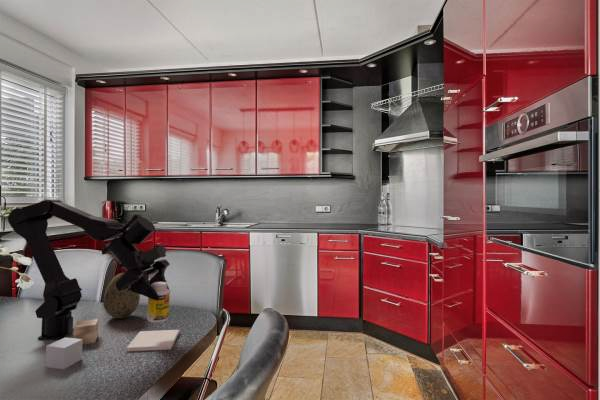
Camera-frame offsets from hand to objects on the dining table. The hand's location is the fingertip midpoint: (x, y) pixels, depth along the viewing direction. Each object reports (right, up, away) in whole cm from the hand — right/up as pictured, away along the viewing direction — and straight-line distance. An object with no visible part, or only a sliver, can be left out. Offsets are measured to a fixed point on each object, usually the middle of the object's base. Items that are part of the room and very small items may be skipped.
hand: (163, 296), depth 91 cm
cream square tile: (-2, -13, 0) cm, 13 cm away
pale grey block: (-19, -12, -13) cm, 26 cm away
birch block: (-22, -12, 0) cm, 25 cm away
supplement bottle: (-2, -7, 0) cm, 7 cm away
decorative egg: (-22, -13, +18) cm, 31 cm away
